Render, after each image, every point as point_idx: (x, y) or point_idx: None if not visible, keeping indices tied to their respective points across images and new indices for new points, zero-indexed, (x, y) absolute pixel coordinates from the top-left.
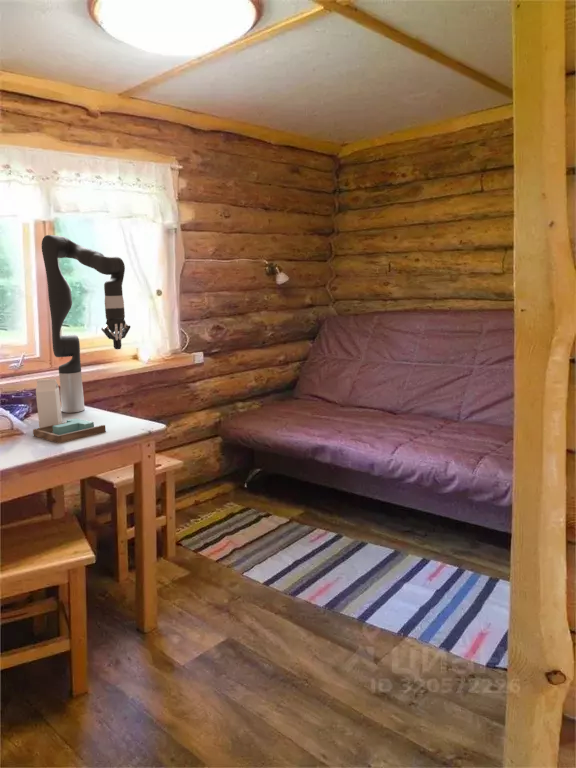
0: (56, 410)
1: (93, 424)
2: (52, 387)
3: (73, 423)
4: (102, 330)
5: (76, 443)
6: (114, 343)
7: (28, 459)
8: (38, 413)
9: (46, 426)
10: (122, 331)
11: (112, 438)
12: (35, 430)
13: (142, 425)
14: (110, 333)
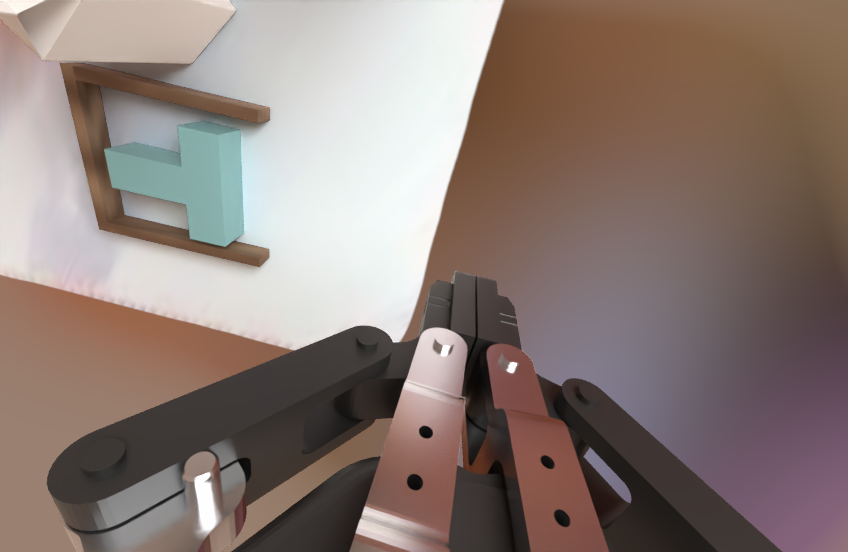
0: (134, 60)
1: (228, 243)
2: (15, 26)
3: (171, 194)
4: (118, 433)
5: (151, 267)
6: (420, 330)
7: (12, 260)
8: None
9: (115, 76)
10: (638, 502)
11: (237, 317)
12: (66, 84)
13: (375, 308)
14: (282, 469)
